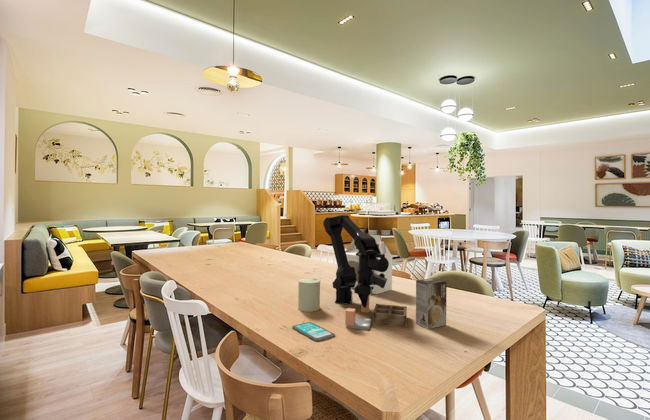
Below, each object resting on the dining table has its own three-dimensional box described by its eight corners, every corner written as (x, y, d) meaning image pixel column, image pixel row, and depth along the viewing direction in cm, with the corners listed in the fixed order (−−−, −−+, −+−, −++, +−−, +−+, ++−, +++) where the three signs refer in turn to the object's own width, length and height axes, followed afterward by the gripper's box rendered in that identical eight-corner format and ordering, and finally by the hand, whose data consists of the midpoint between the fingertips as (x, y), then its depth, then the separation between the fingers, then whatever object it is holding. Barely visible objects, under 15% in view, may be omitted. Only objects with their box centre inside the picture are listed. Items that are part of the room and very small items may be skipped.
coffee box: (433, 319, 124) (434, 277, 124) (446, 325, 119) (447, 281, 118) (414, 323, 120) (415, 279, 120) (427, 329, 114) (428, 283, 114)
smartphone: (316, 340, 102) (290, 325, 114) (316, 343, 102) (290, 328, 114) (337, 334, 107) (310, 320, 119) (337, 337, 108) (310, 323, 119)
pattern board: (345, 327, 115) (345, 310, 115) (349, 319, 123) (349, 303, 123) (368, 330, 113) (369, 313, 113) (371, 322, 121) (371, 305, 121)
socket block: (372, 324, 119) (372, 313, 119) (375, 313, 130) (376, 303, 130) (406, 327, 116) (406, 316, 116) (406, 316, 127) (406, 306, 127)
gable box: (392, 290, 168) (393, 235, 167) (376, 294, 158) (377, 236, 158) (359, 282, 184) (360, 232, 183) (343, 285, 175) (343, 233, 174)
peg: (360, 311, 132) (361, 292, 132) (362, 309, 135) (362, 290, 135) (368, 312, 132) (368, 292, 131) (369, 310, 134) (369, 290, 134)
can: (324, 308, 136) (325, 279, 136) (308, 313, 130) (309, 283, 130) (309, 303, 143) (309, 275, 143) (293, 307, 136) (293, 279, 136)
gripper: (384, 273, 122) (383, 315, 122) (387, 265, 140) (386, 301, 140) (354, 271, 125) (353, 312, 125) (361, 263, 143) (361, 299, 143)
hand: (365, 306), depth 133 cm, fingers closed on peg, 3 cm apart
